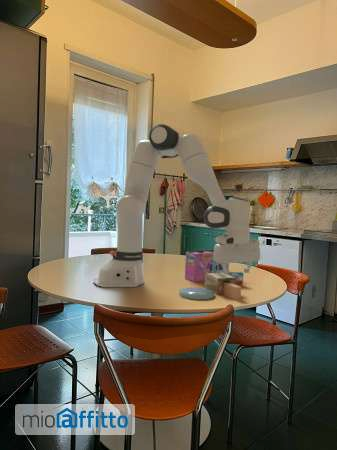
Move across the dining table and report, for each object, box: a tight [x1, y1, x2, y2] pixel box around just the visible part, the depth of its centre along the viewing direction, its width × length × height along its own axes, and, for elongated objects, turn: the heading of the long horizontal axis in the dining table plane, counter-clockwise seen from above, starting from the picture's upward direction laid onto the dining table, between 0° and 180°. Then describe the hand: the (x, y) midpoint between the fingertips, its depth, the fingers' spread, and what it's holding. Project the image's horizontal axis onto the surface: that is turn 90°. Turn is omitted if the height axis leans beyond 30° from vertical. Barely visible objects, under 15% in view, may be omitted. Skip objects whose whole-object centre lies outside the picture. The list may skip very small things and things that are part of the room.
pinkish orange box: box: [221, 281, 242, 300], centre depth 129 cm, size 3×12×5 cm, turn 21°
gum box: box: [184, 249, 230, 283], centre depth 159 cm, size 24×8×14 cm, turn 125°
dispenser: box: [204, 273, 237, 295], centre depth 135 cm, size 9×11×7 cm
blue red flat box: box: [217, 271, 244, 286], centre depth 146 cm, size 12×2×6 cm, turn 98°
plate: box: [178, 286, 215, 301], centre depth 127 cm, size 14×14×1 cm
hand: (236, 273), depth 125 cm, fingers open, 8 cm apart
